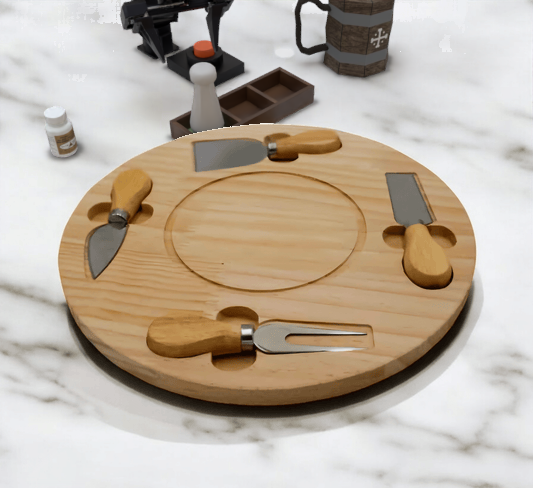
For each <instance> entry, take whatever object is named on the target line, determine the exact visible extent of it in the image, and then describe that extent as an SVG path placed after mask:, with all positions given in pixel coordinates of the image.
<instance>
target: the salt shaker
mask: <svg viewBox="0 0 533 488" xmlns="http://www.w3.org/2000/svg"><path fill="white" fill-rule="evenodd" d="M216 78H217V73H216V70H215V67H214V66H213V65H212V64H210V63H207V62H200V63H196V64H194V65H193V66H192V67H191V69H190V79H191V81H192V82H193V83H194V84H193V83H192V84H193V92H192V93H193V94H192V103H191V109H190V111H191V117H190V126H191V129H192V131H193V132H194V133H197V132H202V131H207V130H212V129H218V128H223V126H224V120H223V116H222V112H221V109H220V105H219V101H218V97H219V96H218V93H217V90H216V86H214V81H215V80H216Z"/></svg>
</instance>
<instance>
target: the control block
mask: <svg viewBox="0 0 533 488" xmlns="http://www.w3.org/2000/svg"><path fill="white" fill-rule="evenodd" d="M193 46H194V44H193V45H191V46H189V47H187V48H184V49H183V50H180V51H177V52H176V53H172V54H171V55H168V56H167V57H165V60H166V68H168V70H171V71H172V72H174V73H175V74H177V75H179V76H180V77H181V78H183V79H185V80H186V81H188V82H190V83H191V84H192V85H194V83H193V82H192V81H191V79H190V69H191V67H192V66H193V65H194V64H196V63H200V62H207V63H210V64H212V65H213V66H214V67H215V70H216V73H217V78H216V80H215V81H214V86H215V87H217V86H219V85H222V84H224V83H227V82H228V81H230V80H232V79H234V78H236V77H239V76H240V75H243V74H244V73H245V62H244V61H242V60H241V59H239V58H237V57H236V56H233V55H232V54H230V53H228V52H227V51H225V50H223V48H222V47H221V46H219V45H218V52H217V53H215V54H214V55H213V56H211V57H206V58H201V57H196V56H195V55H194V47H193Z"/></svg>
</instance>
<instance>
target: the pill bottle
mask: <svg viewBox="0 0 533 488" xmlns="http://www.w3.org/2000/svg"><path fill="white" fill-rule="evenodd" d="M43 117H44V121H45V124H44V130H45V134H46V139H47V141H48V145H49V148H50V151H51V154H52V155H53V156H54V157H57V158H68V157H70V156H71V157H72V156H73V155H75V154H76V153H77V151H78V149H79V147H78V141H77V138H76V134H75V130H74V126H73V122H72V121H71V120H70V119H69V118H68V115H67V111H66V109H65V108H64V107H63V106H60V105H54V106H50V107H48V108H46V109H45V110H44V111H43Z"/></svg>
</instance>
